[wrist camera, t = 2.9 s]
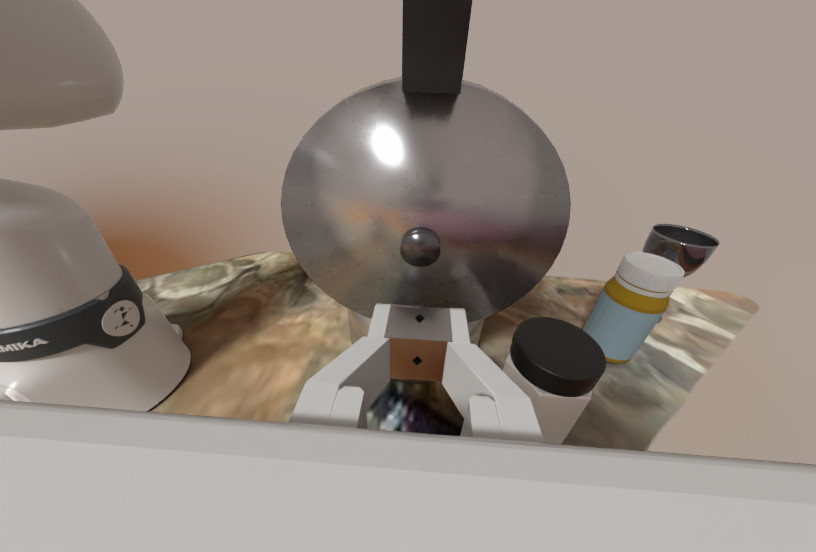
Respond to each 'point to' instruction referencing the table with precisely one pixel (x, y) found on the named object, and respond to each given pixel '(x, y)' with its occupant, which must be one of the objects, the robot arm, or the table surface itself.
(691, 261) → the wine glass
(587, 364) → the jar
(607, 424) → the table surface
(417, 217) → the lid
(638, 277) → the bottle
